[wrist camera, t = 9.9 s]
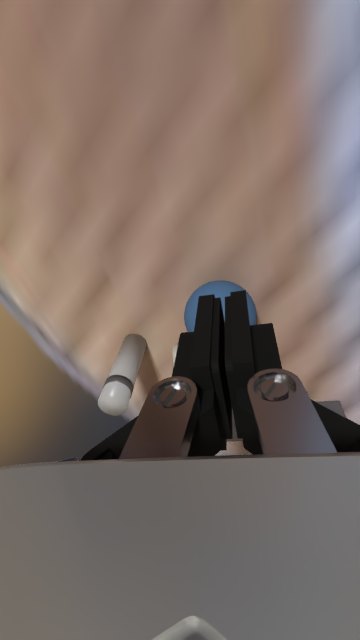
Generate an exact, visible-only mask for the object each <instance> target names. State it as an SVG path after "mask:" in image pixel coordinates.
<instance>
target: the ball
mask: <svg viewBox="0 0 360 640" xmlns="http://www.w3.org/2000/svg"><path fill="white" fill-rule="evenodd" d="M242 290H244V289H243V288H242V287H240V286H239V285H237V284H235V283H232V282H229V281H213V282H209V283H206V284H204V285H202V286H201V287H199V288H198V289H197V290H196V291H195V292H194V293H193V294H192V295H191V297H190V298H189V300H188V302H187V304H186V307H185V313H184V320H185V326H186V329H187V331H188V332H194V327H195V320H196V313H197V306H198V298H199V296H204V295H211V294H214V295H215V298H219V297H220V298H221V303H222V309H223V315H224V321H225V297H227V296H231V295H230V292H235V291H242ZM246 296H247V305H248V313H249V322H250V325H256V308H255V305H254V302H253V300H252V298H251V297H250V295H249V294H248V293H247V292H246Z"/></svg>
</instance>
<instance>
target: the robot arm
mask: <svg viewBox="0 0 360 640" xmlns="http://www.w3.org/2000/svg"><path fill="white" fill-rule="evenodd" d="M230 295H231V296H227V297H225V321H224V315H223V309H222V303H221V298H220V297H219V298H215V295H214V294H211V295H204V296H199V298H198V306H197V313H196V320H195V327H194V332H185V333H181V334H180V338H179V343H178V348H177V353H176V358H175V363H174V368H173V373H172V377H170V378H166V379H164V380H162V381H160V382H158V383H157V384H156V385H154V386H153V387H152V389H151V390H150V392H149V394H148V396H147V398H146V400H145V402H144V405H143V407H142V409H141V411H140V413H139V416H137V417H136V418H135V419H133V420H132V421H130V422H129V423H127V424H126V425H125V426H123V427H122V428H120V429H119V430H118V431H116V432H115V433H114V434H112V435H111V436H109V437H108V438H106V439H105V440H104V441H102V442H101V443H99V444H98V445H97V446H95V447H94V448H92V449H91V450H90V451H89V452H87V453H86V454H85V455H84V456H83V458H82V459H81V460H79V461H78V460H77V458H76V457H74V458H69V459H65V460H62V461H58V462H47V463H33V464H21V465H12V466H6V467H0V640H360V425H358V424H356V423H354V422H353V421H351V420H349V419H347V418H345V417H343V416H341V415H339V414H337V413H336V412H334V411H332V410H330V409H328V408H326V407H324V406H322V405H320V404H318V403H317V402H315V401H313V400H311V399H310V398H309V396H308V394H307V392H306V390H305V388H304V386H303V384H302V382H301V380H300V379H299V378H298V377H297V376H296V375H295V374H293V373H292V372H289V371H287V370H284V369H282V366H281V362H280V357H279V352H278V347H277V343H276V338H275V333H274V328H273V324H272V323H269V324H259V325H250V322H249V313H248V305H247V296H246V290H242V291H235V292H230ZM232 410H233V415H234V421H235V427H236V432H237V438H238V439H243V445H244V448H245V449H246V450H248V451H249V452H250V453H252V454H253V455H229V456H214V455H216V454H217V453H218V452H219V451H220V450H226V439H232V438H233V431H232Z"/></svg>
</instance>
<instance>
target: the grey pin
mask: <svg viewBox="0 0 360 640" xmlns="http://www.w3.org/2000/svg"><path fill="white" fill-rule="evenodd" d="M146 347H147V343H146V340H145V339H144V338H143V337H142V336H140V335H138V334H130V335H128V336H126V337H125V339H124V341H123V344H122V346H121V348H120V351H119V353H118V355H117V358H116V360H115V362H114V365H113V367H112V369H111V372H110V374H109V376H108V378H107V380H106V382H105V384H104V386H103V390H102V393H101V395H100V397H99V400H98V405H99V407H100V409H101V410H102V411H104V412H105V413H107V414H110V415H121V414H123V413H124V412H125V411H126V409H127V406H128V402H129V399H130V398H131V395H132V392H133V389H134V384H135V381H136V378H137V375H138V372H139V369H140V365H141V362H142V359H143V356H144V353H145V350H146Z"/></svg>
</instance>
